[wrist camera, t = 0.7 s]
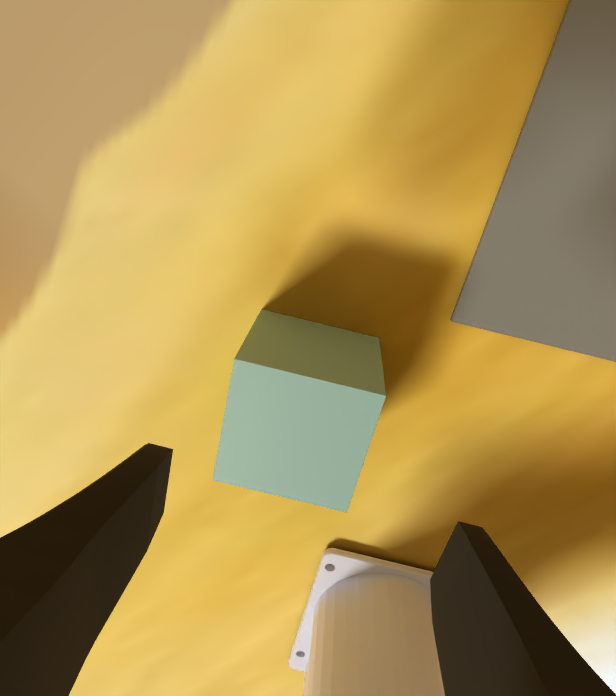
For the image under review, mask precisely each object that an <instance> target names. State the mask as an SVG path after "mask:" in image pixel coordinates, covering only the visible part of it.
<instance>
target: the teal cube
mask: <svg viewBox="0 0 616 696" xmlns="http://www.w3.org/2000/svg"><path fill="white" fill-rule="evenodd" d="M385 398H386V390H385V382H384V373H383V365H382V357H381V348H380V340H379V338H378V337H374V336H370V335H366V334H362V333H357V332H353V331H349V330H345V329H341V328H337V327H333V326H329V325H325V324H321V323H317V322H312V321H308V320H304V319H300V318H296V317H292V316H288V315H284V314H280V313H276V312H272V311H267V310H263V309H261V311H260V313H259V315H258V317H257V319H256V320H255V322H254V324H253V326H252V328H251V330H250V331H249V333H248V335H247V337H246V339H245V340H244V342H243V344H242V346H241V348H240V350H239V351H238V353H237V355H236V357H235V359H234V364H233V369H232V375H231V381H230V386H229V392H228V397H227V403H226V408H225V414H224V420H223V425H222V431H221V436H220V442H219V447H218V453H217V459H216V464H215V470H214V475H213V480H214V481H218V482H223V483H227V484H231V485H235V486H239V487H243V488H247V489H252V490H256V491H260V492H264V493H268V494H272V495H276V496H281V497H285V498H289V499H293V500H297V501H301V502H305V503H310V504H314V505H318V506H322V507H326V508H330V509H334V510H338V511H343V512H347V510H348V507H349V504H350V502H351V499H352V496H353V493H354V490H355V487H356V484H357V481H358V478H359V475H360V472H361V469H362V466H363V463H364V460H365V457H366V454H367V451H368V448H369V445H370V442H371V439H372V436H373V434H374V431H375V428H376V425H377V422H378V419H379V416H380V413H381V410H382V407H383V404H384V401H385Z"/></svg>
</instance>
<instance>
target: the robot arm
mask: <svg viewBox="0 0 616 696" xmlns="http://www.w3.org/2000/svg"><path fill="white" fill-rule="evenodd" d="M172 452H173V449H170V448H166V447H162V446H158V445H154V444H150V443H148V444H146V445H144V446H143V447H142V448H140V449H139V450H138V451H136V452H135V453H134V454H132V455H131V456H130V457H128V458H127V459H126V460H124V461H123V462H122V463H120V464H119V465H118V466H116V467H115V468H113V469H112V470H111V471H109V472H108V473H106V474H105V475H104V476H102V477H101V478H99V479H98V480H96V481H95V482H93V483H92V484H90V485H89V486H87V487H86V488H85V489H83V490H82V491H80V492H79V493H77V494H76V495H74V496H72V497H71V498H69V499H68V500H66V501H64V502H63V503H61V504H59V505H58V506H56V507H55V508H53V509H51V510H50V511H48V512H46V513H45V514H43V515H41V516H40V517H38V518H36V519H34V520H33V521H31V522H29V523H27V524H26V525H24V526H22V527H20V528H18V529H16V530H14V531H12V532H11V533H9V534H7V535H5V536H3V537H1V538H0V696H69V693H70V691H71V689H72V687H73V685H74V683H75V681H76V679H77V676H78V674H79V672H80V670H81V668H82V666H83V664H84V661H85V659H86V657H87V656H88V654H89V652H90V650H91V648H92V646H93V644H94V642H95V640H96V639H97V637H98V635H99V633H100V632H101V630H102V628H103V626H104V625H105V623H106V621H107V620H108V618H109V616H110V614H111V613H112V611H113V609H114V607H115V606H116V604H117V602H118V600H119V599H120V597H121V595H122V594H123V592H124V590H125V588H126V587H127V585H128V583H129V581H130V580H131V578H132V576H133V574H134V573H135V571H136V569H137V567H138V566H139V564H140V562H141V560H142V559H143V557H144V555H145V553H146V552H147V549H148V547H149V545H150V543H151V540H152V538H153V536H154V534H155V531H156V529H157V527H158V524H159V522H160V520H161V517H162V515H163V513H164V506H165V500H166V493H167V486H168V479H169V472H170V466H171V459H172ZM328 564H332V565H328ZM288 664H289V666H290V667H291V668H292V669H295V670H298V671H303V672H305V674H304V684H303V695H302V696H616V694H615V693H614V692H613V691H612V690H611V689H610V688H609V687H608V686H607V685H606V683H605V682H604V681H603V680H602V679H601V678H600V677H599V676H598V675H597V674H596V673H595V672H594V670H593V669H592V668H591V667H590V666H589V665H588V664H587V662H586V661H585V660H584V659H583V658H582V657H581V656H580V654H579V653H578V652H577V651H576V650H575V648H574V647H573V646H572V645H571V644H570V642H569V641H568V640H567V639H566V638H565V636H564V635H563V634H562V633H561V631H560V630H559V629H558V628H557V627H556V625H555V624H554V623H553V622H552V620H551V619H550V618H549V616H548V615H547V614H546V613H545V611H544V610H543V609H542V607H541V606H540V605H539V604H538V602H537V601H536V600H535V598H534V597H533V596H532V594H531V593H530V592H529V590H528V589H527V588H526V586H525V585H524V584H523V582H522V581H521V579H520V578H519V577H518V575H517V574H516V573H515V571H514V570H513V568H512V567H511V566H510V564H509V563H508V562H507V560H506V559H505V557H504V556H503V555H502V553H501V552H500V551H499V549H498V548H497V546H496V545H495V544H494V542H493V541H492V540H491V538H490V537H489V536H488V534H487V533H486V532H485V530H484V529H483V528H482V527H478V526H474V525H470V524H466V523H462V522H458V523H457V525H456V527H455V529H454V531H453V533H452V535H451V537H450V539H449V541H448V543H447V545H446V547H445V550H444V552H443V554H442V556H441V558H440V560H439V562H438V564H437V566H436V568H435V570H434V572H432V571H428V570H424V569H419V568H415V567H411V566H407V565H403V564H399V563H394V562H390V561H386V560H382V559H378V558H374V557H369V556H365V555H361V554H357V553H353V552H349V551H345V550H340V549H336V548H328V549H326V550H325V551H324V552H323V555H322V558H321V561H320V564H319V567H318V570H317V573H316V576H315V579H314V582H313V585H312V588H311V591H310V594H309V598H308V601H307V604H306V607H305V610H304V613H303V616H302V619H301V622H300V625H299V628H298V631H297V634H296V637H295V640H294V643H293V647H292V650H291V653H290V656H289V662H288Z"/></svg>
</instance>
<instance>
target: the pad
mask: <svg viewBox="0 0 616 696" xmlns="http://www.w3.org/2000/svg"><path fill="white" fill-rule="evenodd" d="M450 320H451V321H452V322H456V323H460V324H464V325H468V326H472V327H476V328H480V329H485V330H489V331H493V332H497V333H501V334H505V335H509V336H513V337H517V338H521V339H525V340H529V341H534V342H538V343H542V344H546V345H550V346H554V347H558V348H562V349H566V350H570V351H574V352H578V353H582V354H587V355H591V356H595V357H599V358H603V359H607V360H611V361H615V362H616V0H570V1H569V4H568V7H567V9H566V12H565V15H564V17H563V20H562V23H561V25H560V28H559V31H558V33H557V36H556V39H555V41H554V44H553V47H552V49H551V52H550V55H549V57H548V60H547V63H546V65H545V68H544V71H543V73H542V76H541V79H540V81H539V84H538V87H537V89H536V92H535V95H534V97H533V100H532V103H531V105H530V108H529V111H528V113H527V116H526V119H525V121H524V124H523V127H522V129H521V132H520V135H519V137H518V140H517V143H516V146H515V148H514V151H513V154H512V156H511V159H510V162H509V164H508V167H507V170H506V172H505V175H504V178H503V180H502V183H501V186H500V188H499V191H498V194H497V196H496V199H495V202H494V204H493V207H492V210H491V212H490V215H489V218H488V220H487V223H486V226H485V228H484V231H483V234H482V236H481V239H480V242H479V244H478V247H477V250H476V252H475V255H474V258H473V260H472V263H471V266H470V268H469V271H468V274H467V276H466V279H465V282H464V284H463V287H462V290H461V292H460V295H459V298H458V301H457V303H456V306H455V309H454V311H453V314H452V317H451V319H450Z"/></svg>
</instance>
